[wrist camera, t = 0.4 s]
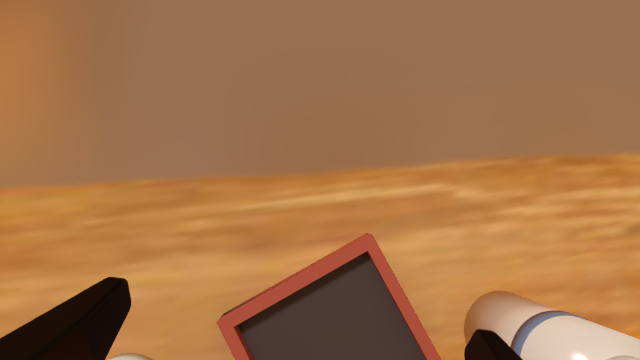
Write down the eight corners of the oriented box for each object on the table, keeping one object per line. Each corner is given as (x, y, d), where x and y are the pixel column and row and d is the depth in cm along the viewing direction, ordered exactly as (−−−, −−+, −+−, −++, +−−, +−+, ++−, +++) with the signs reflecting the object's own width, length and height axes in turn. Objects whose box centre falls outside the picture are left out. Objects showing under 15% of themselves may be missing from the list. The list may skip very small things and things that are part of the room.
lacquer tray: (447, 379, 22) (459, 393, 20) (302, 471, 21) (301, 494, 19) (366, 233, 23) (372, 234, 21) (223, 313, 22) (216, 322, 20)
